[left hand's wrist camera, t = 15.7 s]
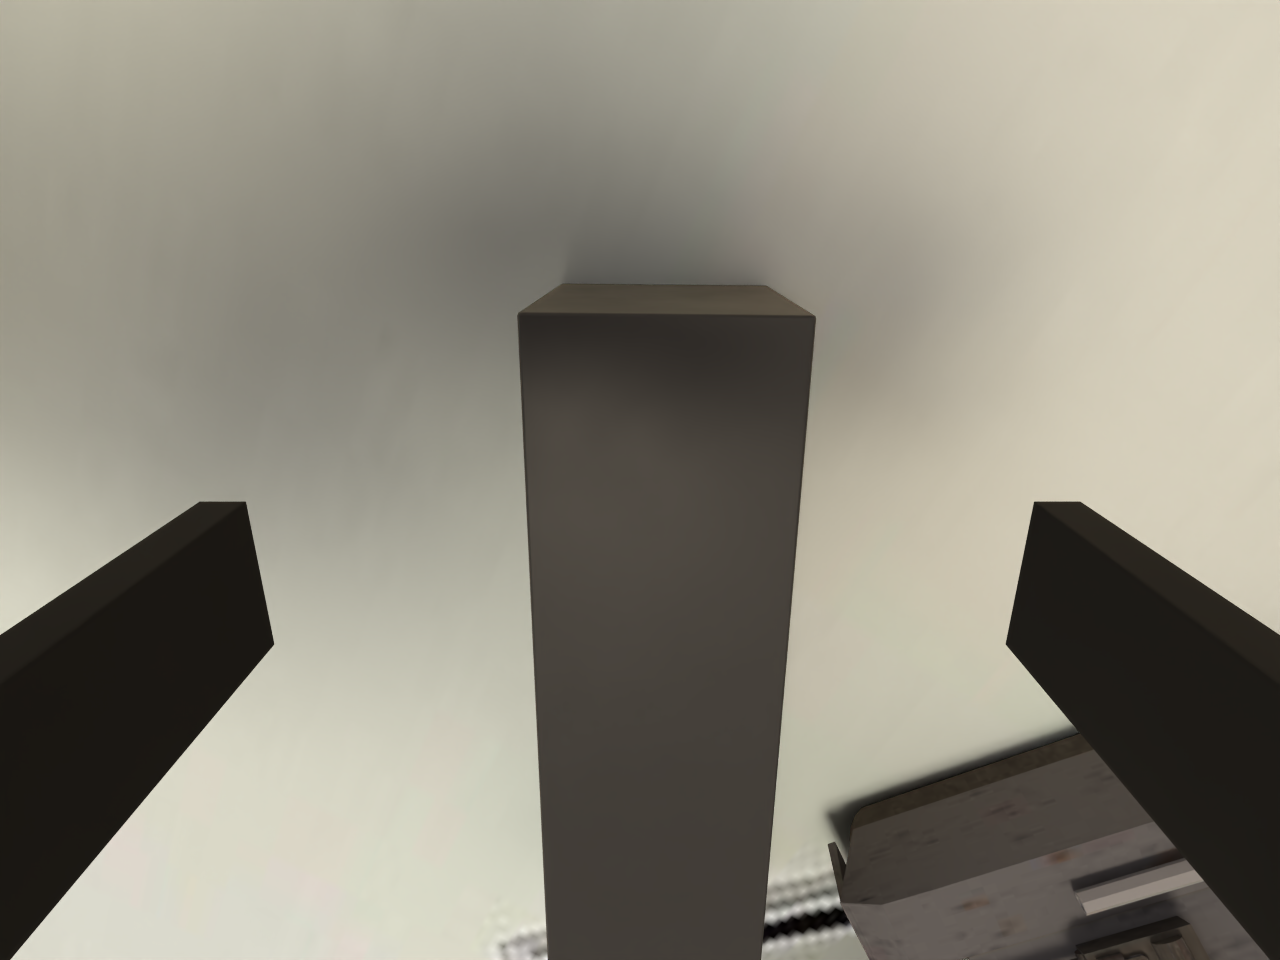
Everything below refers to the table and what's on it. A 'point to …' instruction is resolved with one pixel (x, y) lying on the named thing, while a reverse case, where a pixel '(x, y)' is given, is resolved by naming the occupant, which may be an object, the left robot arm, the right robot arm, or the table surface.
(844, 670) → the table surface
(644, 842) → the box
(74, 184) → the table surface
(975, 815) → the toy
